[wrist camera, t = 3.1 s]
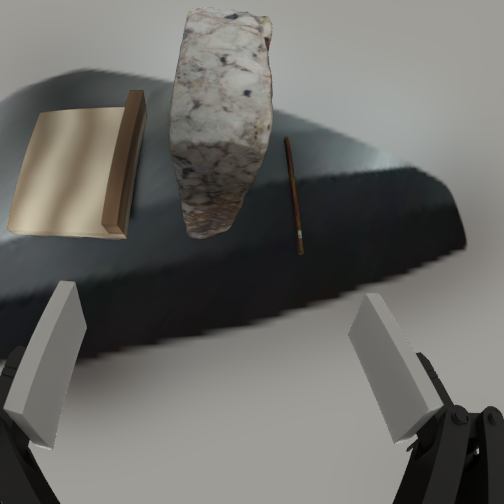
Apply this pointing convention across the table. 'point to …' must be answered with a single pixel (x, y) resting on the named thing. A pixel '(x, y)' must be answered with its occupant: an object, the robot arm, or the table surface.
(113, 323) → the table surface
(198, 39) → the stone block
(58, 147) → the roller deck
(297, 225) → the dark brown thin bar
